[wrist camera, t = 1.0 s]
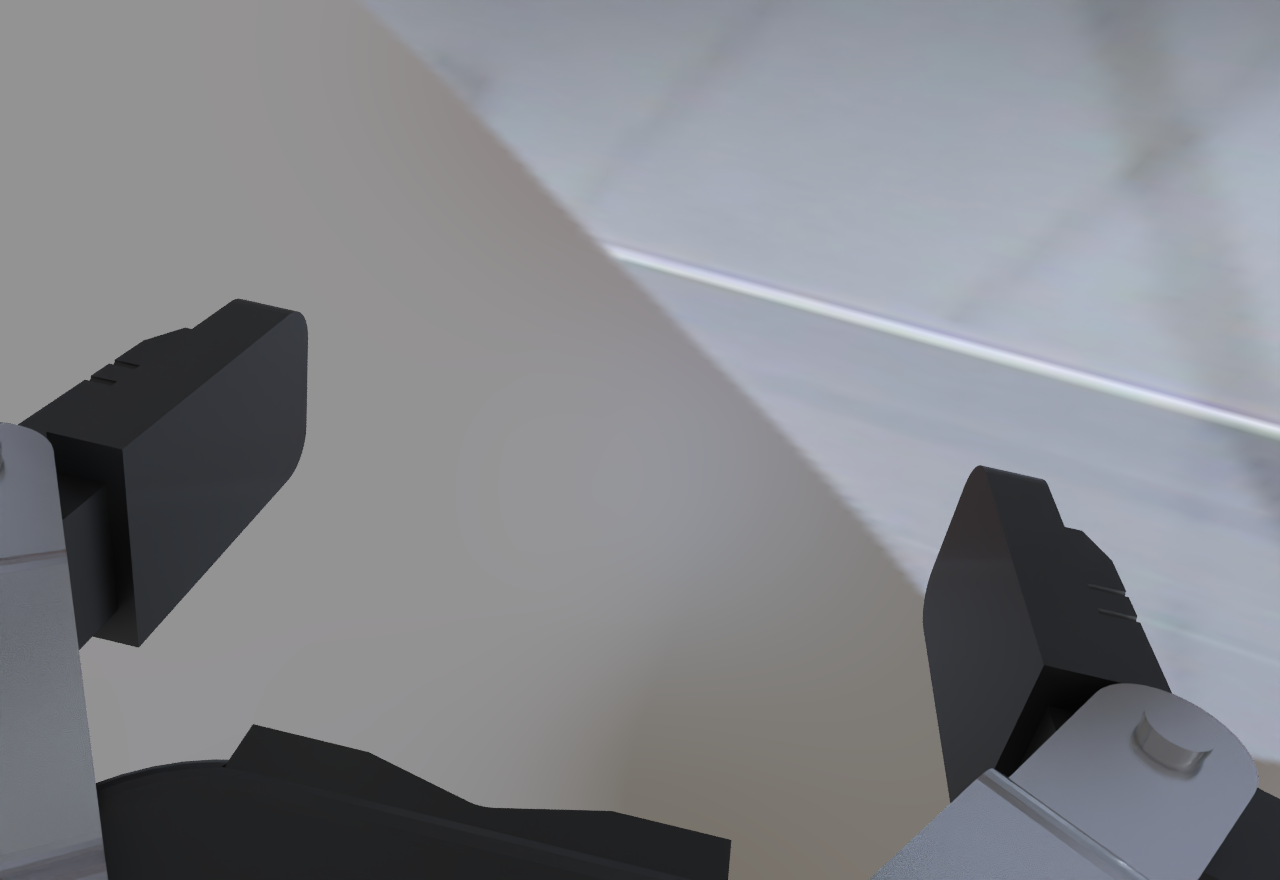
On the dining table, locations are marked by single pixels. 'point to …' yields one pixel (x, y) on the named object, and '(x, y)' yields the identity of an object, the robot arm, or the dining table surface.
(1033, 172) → the dining table surface
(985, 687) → the robot arm
